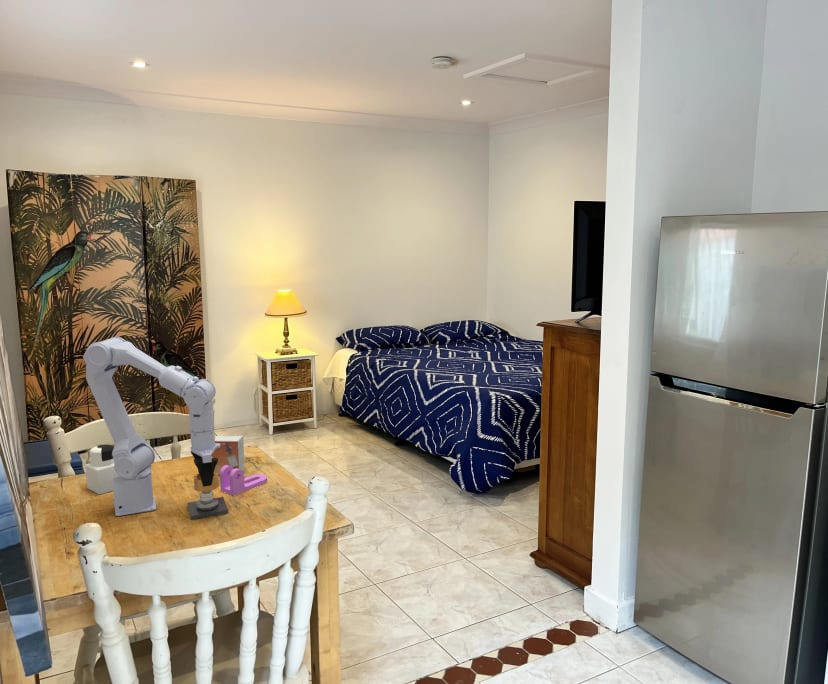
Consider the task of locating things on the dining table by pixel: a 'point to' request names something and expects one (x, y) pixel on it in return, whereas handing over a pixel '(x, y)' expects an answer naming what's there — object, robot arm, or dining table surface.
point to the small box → (229, 452)
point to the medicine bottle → (101, 469)
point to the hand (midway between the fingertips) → (205, 481)
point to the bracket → (238, 480)
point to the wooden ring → (199, 486)
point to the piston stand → (207, 506)
